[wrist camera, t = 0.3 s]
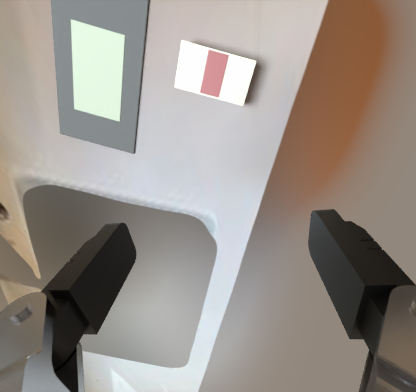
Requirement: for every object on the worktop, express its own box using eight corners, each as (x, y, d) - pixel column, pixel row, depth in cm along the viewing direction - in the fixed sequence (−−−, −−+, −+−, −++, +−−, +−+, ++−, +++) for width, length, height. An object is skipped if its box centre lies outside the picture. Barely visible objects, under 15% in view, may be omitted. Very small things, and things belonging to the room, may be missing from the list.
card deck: (187, 45, 28) (181, 39, 24) (253, 64, 28) (256, 60, 25) (180, 87, 30) (174, 87, 27) (241, 103, 31) (243, 106, 27)
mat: (50, -33, 25) (47, -35, 25) (149, -3, 26) (147, -4, 26) (62, 133, 35) (59, 133, 34) (134, 153, 35) (133, 153, 35)
